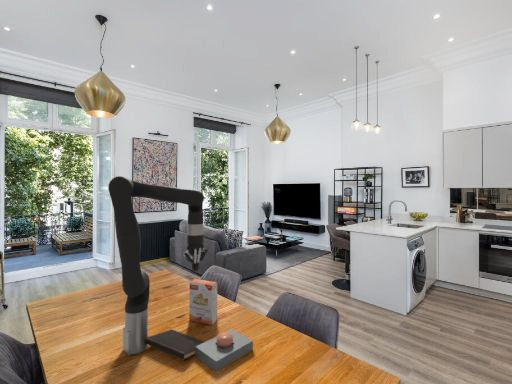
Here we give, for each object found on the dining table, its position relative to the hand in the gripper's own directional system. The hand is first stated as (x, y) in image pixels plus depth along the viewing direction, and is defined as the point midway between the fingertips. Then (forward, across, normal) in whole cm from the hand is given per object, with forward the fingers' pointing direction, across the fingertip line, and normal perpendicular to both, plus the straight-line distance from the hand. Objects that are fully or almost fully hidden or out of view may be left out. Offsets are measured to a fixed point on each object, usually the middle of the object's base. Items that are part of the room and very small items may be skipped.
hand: (195, 270), depth 127 cm
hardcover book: (+32, -10, 0) cm, 33 cm away
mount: (+32, +3, -18) cm, 37 cm away
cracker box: (+32, +13, +12) cm, 37 cm away
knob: (+32, +3, -18) cm, 37 cm away
